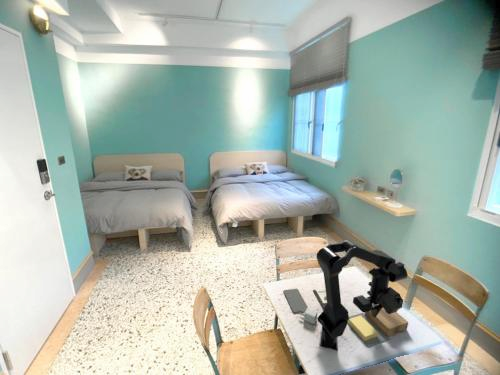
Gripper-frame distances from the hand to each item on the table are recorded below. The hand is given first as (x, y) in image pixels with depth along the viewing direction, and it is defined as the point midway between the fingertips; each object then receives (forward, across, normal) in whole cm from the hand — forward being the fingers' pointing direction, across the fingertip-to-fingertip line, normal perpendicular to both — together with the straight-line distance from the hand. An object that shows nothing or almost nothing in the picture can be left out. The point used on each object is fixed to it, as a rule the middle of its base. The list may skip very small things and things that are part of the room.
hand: (374, 316), depth 101 cm
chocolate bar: (+6, -8, +17) cm, 20 cm away
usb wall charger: (+5, -23, +12) cm, 26 cm away
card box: (+3, -5, 0) cm, 6 cm away
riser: (+5, +6, 0) cm, 8 cm away
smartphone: (+6, -22, +24) cm, 33 cm away
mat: (+5, -4, 0) cm, 6 cm away
